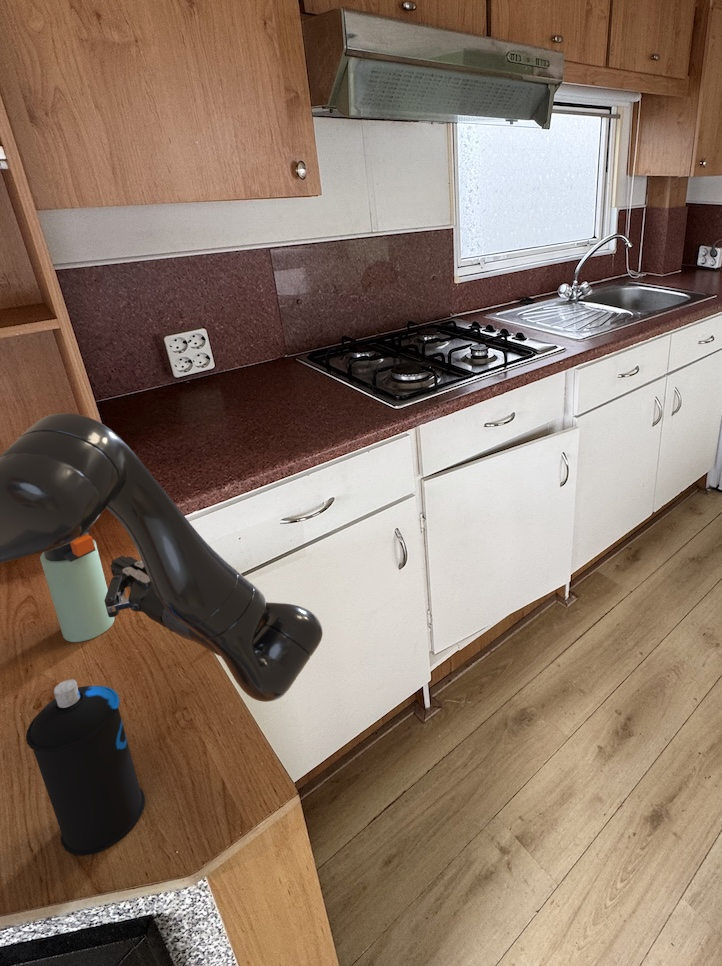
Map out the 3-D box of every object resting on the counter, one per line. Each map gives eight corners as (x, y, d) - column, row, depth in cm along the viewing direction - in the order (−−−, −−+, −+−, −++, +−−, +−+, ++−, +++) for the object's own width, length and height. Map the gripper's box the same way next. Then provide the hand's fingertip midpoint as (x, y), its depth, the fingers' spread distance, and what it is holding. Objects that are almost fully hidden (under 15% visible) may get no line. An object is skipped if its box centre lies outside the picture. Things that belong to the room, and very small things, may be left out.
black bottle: (85, 872, 62) (40, 734, 55) (46, 831, 66) (-1, 698, 59) (160, 805, 69) (127, 675, 62) (120, 772, 73) (85, 646, 66)
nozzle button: (72, 553, 88) (69, 541, 87) (89, 545, 90) (86, 533, 89) (78, 557, 87) (75, 544, 87) (95, 549, 89) (92, 536, 89)
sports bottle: (53, 631, 95) (19, 518, 88) (100, 606, 101) (71, 498, 94) (80, 650, 91) (47, 534, 84) (127, 623, 97) (100, 511, 90)
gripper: (231, 554, 80) (156, 520, 88) (136, 610, 70) (60, 566, 77) (239, 598, 83) (165, 561, 91) (148, 659, 72) (73, 611, 80)
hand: (117, 563), depth 84 cm, fingers closed
